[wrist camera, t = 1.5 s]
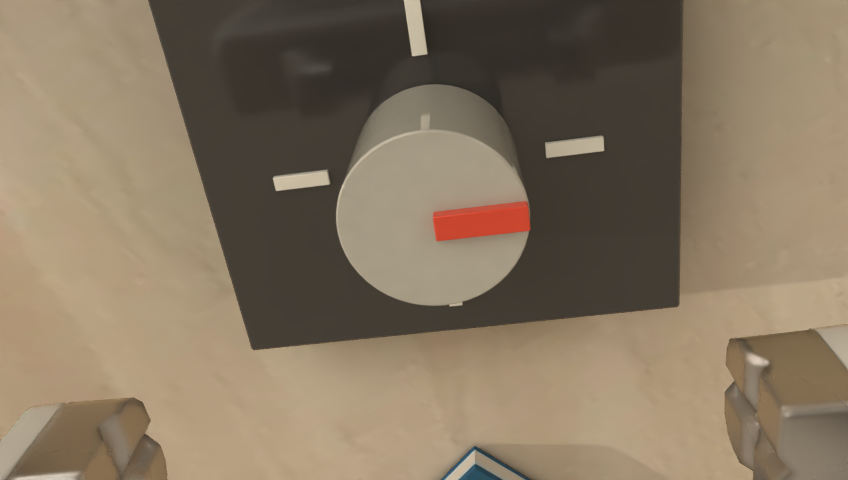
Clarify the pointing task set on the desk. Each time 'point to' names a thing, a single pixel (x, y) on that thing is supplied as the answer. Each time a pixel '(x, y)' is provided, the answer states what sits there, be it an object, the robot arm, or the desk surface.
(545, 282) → the dial base plate
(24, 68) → the desk surface
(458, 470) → the sketchbook
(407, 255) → the knob
